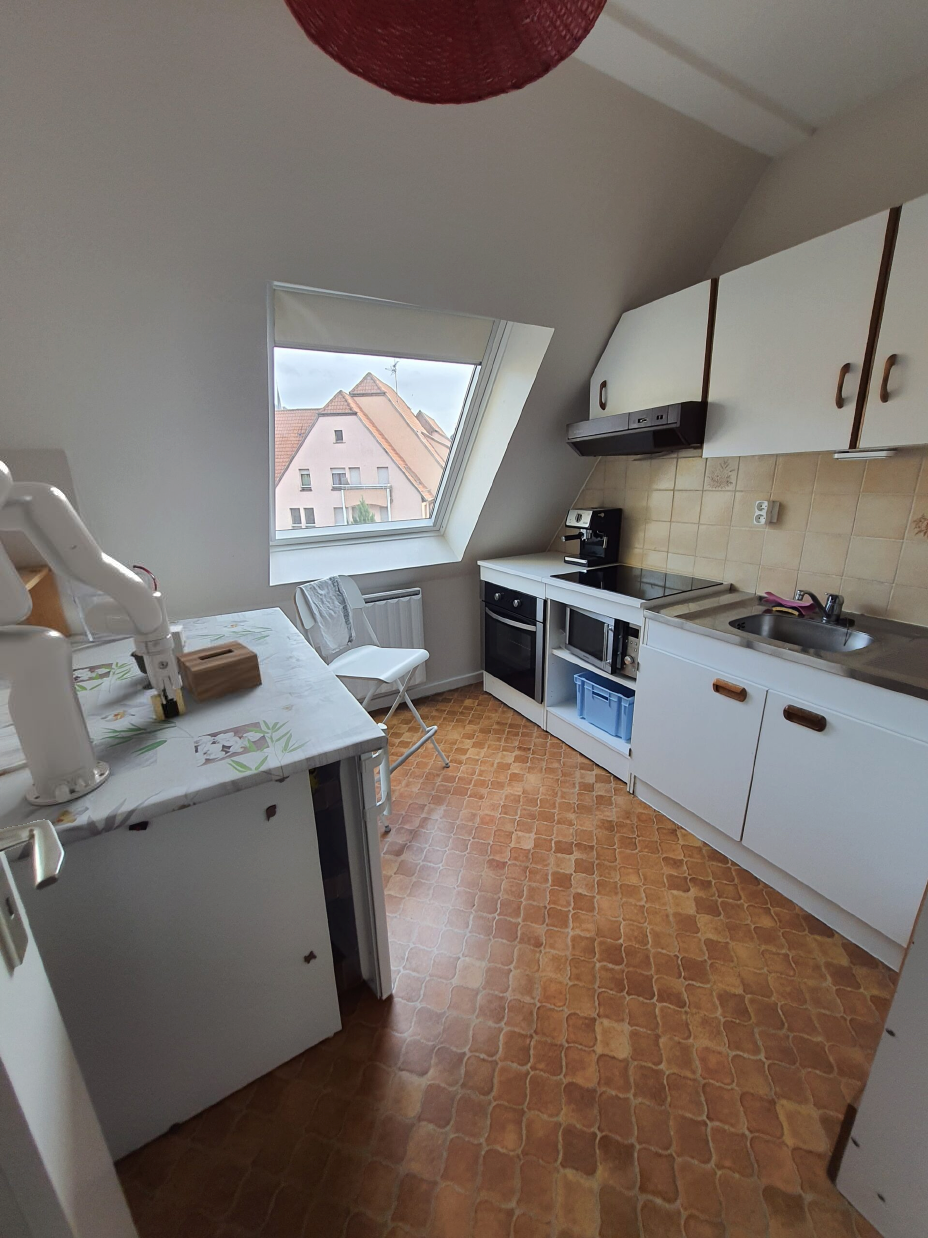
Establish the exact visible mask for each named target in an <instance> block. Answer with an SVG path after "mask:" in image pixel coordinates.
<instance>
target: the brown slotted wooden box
mask: <svg viewBox="0 0 928 1238" xmlns="http://www.w3.org/2000/svg"><path fill="white" fill-rule="evenodd" d="M176 658H177V663H178V667H179V672H178V673H179V675H180V676H179V677H180V682H181V686H182V687H184V689H185V690H186V691H188V693H190V695H191V696H192V697H193V698H194V699H195V700H196V702H198V703H199V704H202V703H205V702H209V701H211V700H215V699H218V698H221V697H225V696H227V695H228V696H229V695H231V694H235V693H238V692H241V691H244V690H247V689H251V688H253V687H256V686H260V685H262V684H263V682H262V677H261V676H262V675H261V670H260V665H259V657H258V653H256V652H255V651H253V650H252V649H250V648H248V647H247V646H245V645H244V644H243V643H241V642H240V641H237V640H233V641H228V642H224V643H220V644H216V645H211V646H208V647H204V648H200V649H195V650H192V651H188V652H187V653H183V654H178V655H176Z"/></svg>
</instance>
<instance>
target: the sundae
mask: <svg viewBox="0 0 928 1238" xmlns="http://www.w3.org/2000/svg"><path fill="white" fill-rule="evenodd" d="M129 655H130V657H131V658H133V659H134V661H135V663H136V665H137V667H138V669H139V671H140V673H142V674H143V675H147V679H148V682H147V683H145V684H143V685H142V686H141V687H142V689H143V690H152V689H154V688H153V686H152V685H151V683H150V680H149V677H148V674H147V670H146V666H145V662H144V657H143V656H141V655H137V653H136V649H135V650H134V651H132V652H131V653H130V654H129Z"/></svg>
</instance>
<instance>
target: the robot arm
mask: <svg viewBox="0 0 928 1238" xmlns="http://www.w3.org/2000/svg"><path fill="white" fill-rule="evenodd" d="M0 531H22V532H23V533H24V535H26V537H27V539H29V541H30V542H31V543H32V544H33V546H34V547H35V548H36V550H37V551H38V552H39V554H40V555H41V557H42V558H43V559H44V560H45V561H46V563H47V564H48V565H49V567H50V569H51V570H53V572H54V573H55V574H58V575H59V576H61V577H64V578H65V579H68V580H69V581H72V582H76V583H78V584H82V585H84V586H87V587H89V588H90V587H91V588H93V589H94V590H98V591H99V592H101V593H103V594H105V595H106V596H108V597H110V599H109V598H108V599H103V600H99V601H96V602H94V603H93V604H90V606H88V608H87V609H86V610H85V612H84V617H83V621H84V624H85V625H86V628H87V629H89V631H91V632H93V633H95V634H99V635H104V636H132V639H133V644H134V648H135V650H136V653H137V655H141V656H143V657H144V662H145V666H146V670H147V674H148V675H147V678H148V677H149V680H150V683H151V685H152V686H153V689H154V691H156V693H157V694H160V695H161V699H162V704H161V705H162V710H163V714H164V718H165V720H167V719H171V718H174V717H177V716H180V715H181V714H180V712H179V708H178V704H177V700H176V697H175V692H174V689H180V690H181V689H182V687H183V685H182V682H181V678H180V676H179V675H180V674H179V672H177V668H176V664H175V661H174V658H173V655H172V652H171V649H173V648H174V643H173V639H172V634H171V630H170V622H169V617H168V612H167V608H166V603H165V599H164V596H163V594H162V593H161V591H157V590H150V588H149V586H148V585H147V584H146V583H145V581H144V580H142V579H141V578H140V577H139V576H138V575H136V574H135V573H134V572H133V571H131V570H130V569H129V568H127V567H126V566H124V565H123V564H121V563H120V562H118V561H117V560H116V559H114V558H113V557H111V556H109V555H108V554H106V553H105V552H103V550H102V549H101V548H100V546H99V545H98V543H97V542H96V540H95V539H94V537H93V536H92V535H91V532H89V530H88V529H87V527H86V525H85V524H84V523H83V521H82V519H81V518H80V516H79V515H78V513H77V511H76V510H75V508H74V507H73V506H72V504H71V503H70V501H69V499H68V498H67V497H66V495H65V494H64V493H63V492H62V491H61V490H60V489H59V488H58V487H56V486H54V485H52V484H50V483H45V482H39V481H13V476H12V474H11V471H10V469H9V467H8V466H7V465H6V463H4V462H3V461H2V460H0ZM32 609H33V601H32V597H31V595H30V592H29V590H28V588H27V586H26V584H25V583H24V581H23V580H22V578H21V576H20V574H19V573H18V571H17V569H16V567H15V565H14V564H13V563H12V561H11V559H10V557H9V555H8V554H7V552H6V550H5V548H4V546H3V543H2V542H1V540H0V681H8V682H10V690H9V695H8V699H7V707H8V708H7V709H8V713H9V716H10V719H11V721H12V725H13V727H14V730H15V732H16V736H17V739H18V741H19V744H20V747H21V750H22V753H23V756H24V758H25V762H26V765H27V767H28V770H29V773H30V776H31V779H32V783H31V784H30V785H29V786H28V788H27V789H26V791H25V798H26V800H27V802H28V803H29V804H31V805H34V806H52V805H58V804H61V803H65V802H70V801H72V800H74V799H76V798H80V797H82V796H84V795H86V794H88V793H90V792H92V791H93V790H96V789H97V788H98V787H101V785H102V784H103V783H105V782H106V781H107V779H109V777H110V774H111V768H110V764H108V763H107V762H106V761H102V760H97V759H98V757H97V756H96V753H95V749H94V746H93V742H92V739H91V736H90V732H89V728H88V725H87V721H86V719H85V715H84V711H83V707H82V704H81V702H80V698H79V694H78V691H77V688H76V683H75V679H74V669H73V662H74V661H73V648H72V646H71V643H70V641H69V639H68V638H67V637H66V636H65V635H64V634H62V633H61V632H60V631H58V630H56V629H52V628H50V627H46V626H41V625H40V626H38V625H19V624H18V623H21V622H22V621H24V620H25V619H27V618H28V617H29V616H30V615H31V613H32ZM17 624H18V625H17ZM149 680H148V681H149ZM164 694H167V695H165V697H164ZM179 714H180V715H179Z"/></svg>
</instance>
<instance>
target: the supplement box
mask: <svg viewBox="0 0 928 1238" xmlns="http://www.w3.org/2000/svg"><path fill="white" fill-rule="evenodd" d="M169 626H170V625H169ZM170 630H171V634H172V639H173V643H174V648H173V649H171V652H172V655H173V658H174V661H175V664H176V668H177V672H178V673H180V672H179V667H178V663H177V658H176V655H178V654H183V653H187V652H189V649H188V643H187V638H186V635H185V630H184V626H183V624H178V625H172V626H170Z"/></svg>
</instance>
